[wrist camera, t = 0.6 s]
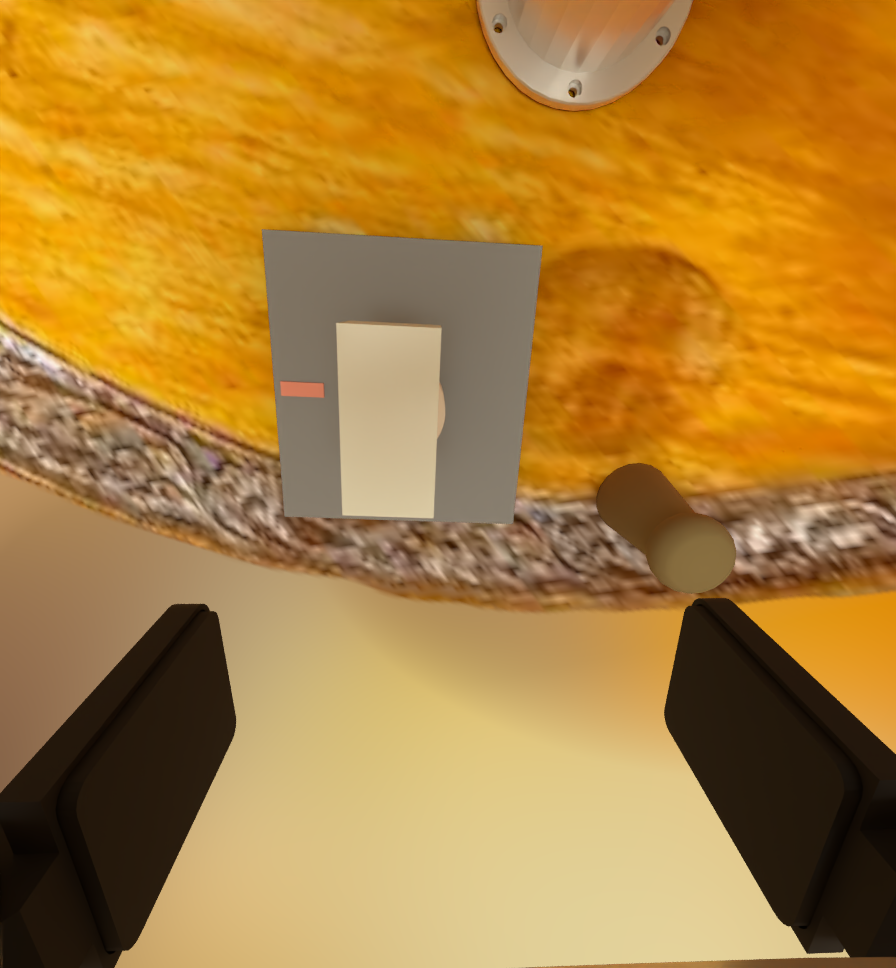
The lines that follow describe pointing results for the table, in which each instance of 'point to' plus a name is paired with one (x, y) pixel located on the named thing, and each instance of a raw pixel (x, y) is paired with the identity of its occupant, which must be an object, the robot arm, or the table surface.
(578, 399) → the table surface
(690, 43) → the table surface
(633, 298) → the table surface
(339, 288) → the base plate
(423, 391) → the cream rectangular block
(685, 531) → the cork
